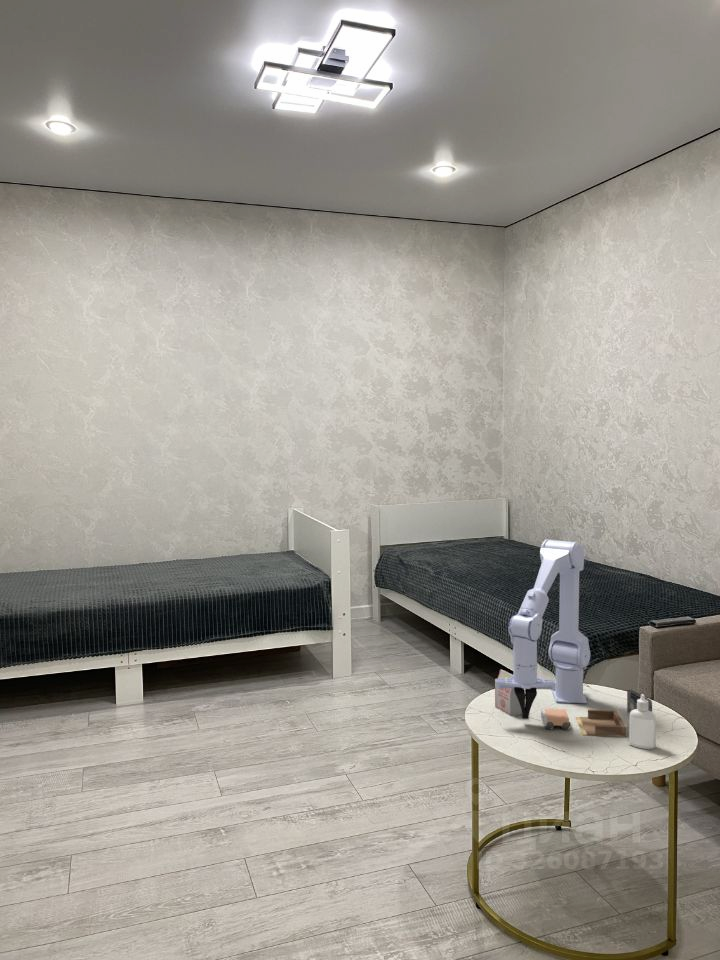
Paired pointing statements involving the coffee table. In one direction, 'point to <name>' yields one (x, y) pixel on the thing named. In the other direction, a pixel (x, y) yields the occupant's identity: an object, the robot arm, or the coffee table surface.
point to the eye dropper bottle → (642, 726)
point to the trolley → (555, 718)
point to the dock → (602, 723)
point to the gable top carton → (507, 697)
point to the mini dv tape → (635, 701)
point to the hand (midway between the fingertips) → (525, 717)
